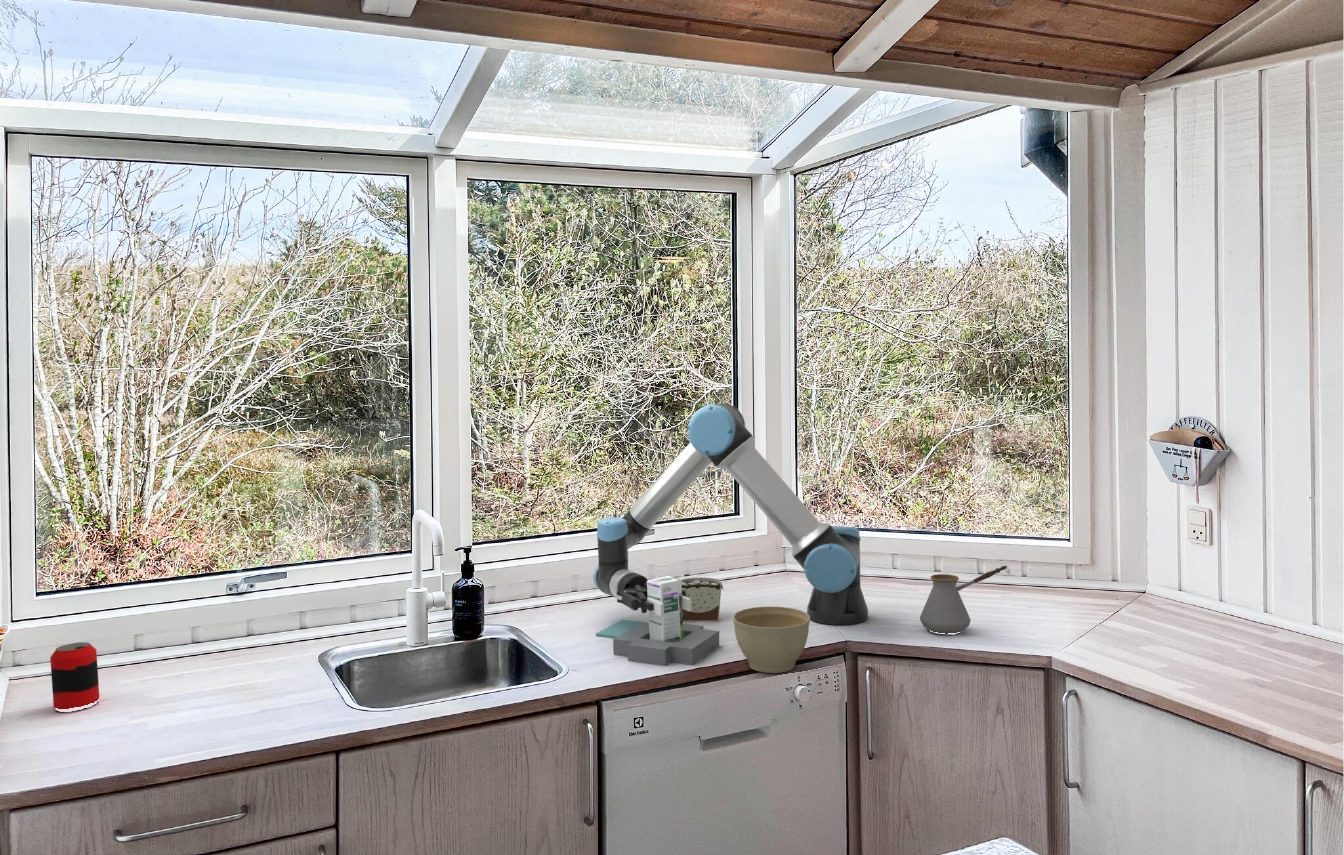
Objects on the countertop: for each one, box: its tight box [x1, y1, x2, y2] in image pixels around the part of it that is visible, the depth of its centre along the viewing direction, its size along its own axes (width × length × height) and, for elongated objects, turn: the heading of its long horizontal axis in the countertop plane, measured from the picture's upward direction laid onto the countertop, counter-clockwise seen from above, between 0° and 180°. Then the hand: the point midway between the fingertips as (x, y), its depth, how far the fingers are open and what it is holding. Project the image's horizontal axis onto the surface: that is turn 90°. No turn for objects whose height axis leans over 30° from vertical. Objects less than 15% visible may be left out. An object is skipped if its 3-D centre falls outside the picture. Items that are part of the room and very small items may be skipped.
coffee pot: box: [919, 565, 1011, 634], centre depth 210 cm, size 21×12×15 cm, turn 93°
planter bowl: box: [732, 605, 811, 674], centre depth 188 cm, size 16×16×11 cm
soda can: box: [49, 641, 100, 709], centre depth 176 cm, size 8×8×12 cm
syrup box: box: [647, 575, 684, 643], centre depth 201 cm, size 6×6×14 cm
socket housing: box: [612, 622, 720, 666], centre depth 201 cm, size 20×20×4 cm
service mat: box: [595, 619, 649, 639], centre depth 217 cm, size 13×13×1 cm
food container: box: [680, 576, 725, 623], centre depth 227 cm, size 12×6×10 cm, turn 84°
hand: (676, 607), depth 197 cm, fingers closed on syrup box, 6 cm apart
